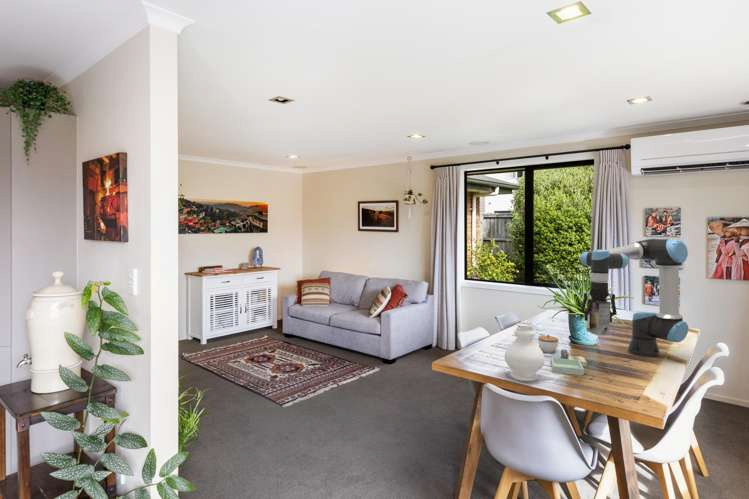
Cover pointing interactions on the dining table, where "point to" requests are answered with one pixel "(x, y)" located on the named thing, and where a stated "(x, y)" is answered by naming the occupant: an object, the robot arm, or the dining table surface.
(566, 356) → the bench dogs
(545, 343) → the lidded jar
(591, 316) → the coffee box
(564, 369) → the tray
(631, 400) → the dining table surface
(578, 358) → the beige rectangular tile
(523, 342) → the decorative vase
